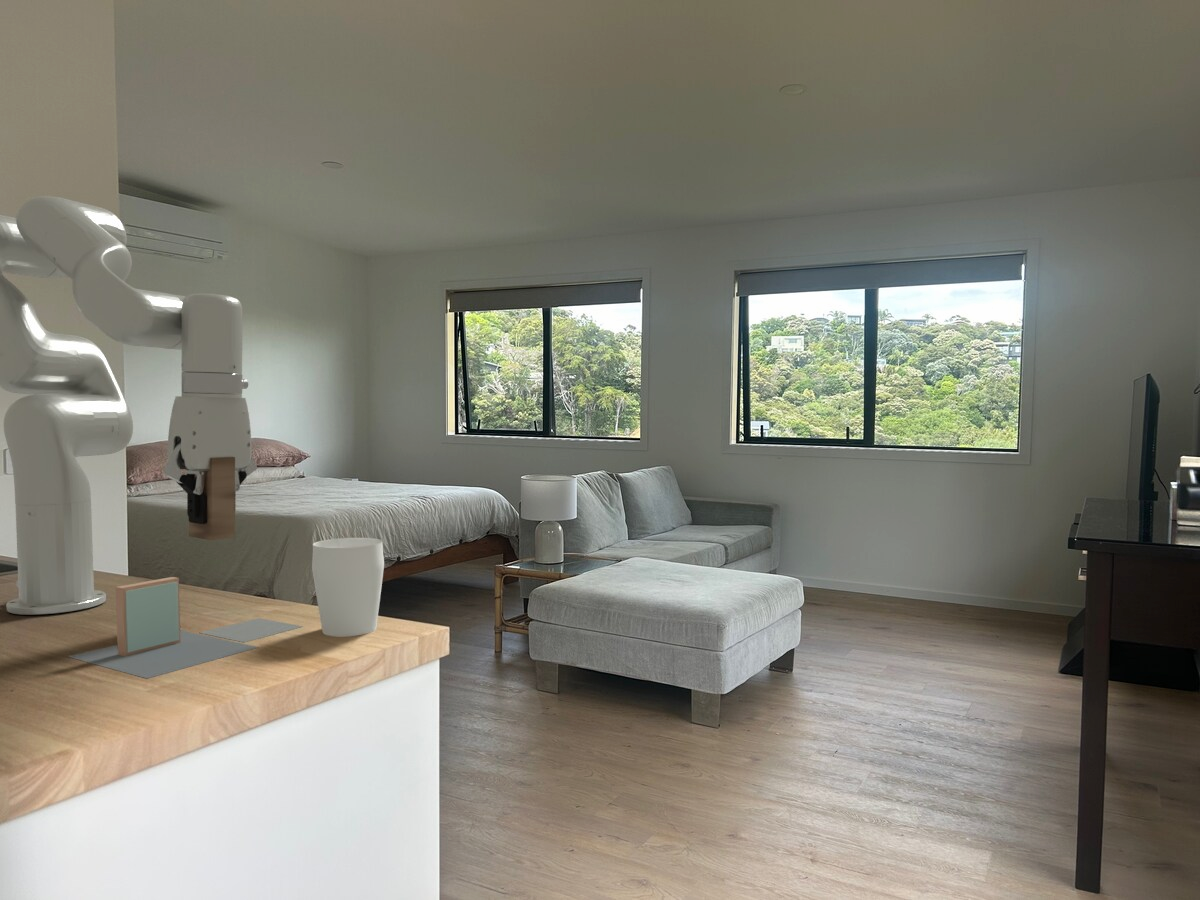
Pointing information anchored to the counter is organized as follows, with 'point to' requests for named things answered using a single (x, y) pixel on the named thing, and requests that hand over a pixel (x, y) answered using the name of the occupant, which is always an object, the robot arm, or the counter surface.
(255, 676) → the counter surface
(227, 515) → the bar
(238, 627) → the coaster
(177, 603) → the tile
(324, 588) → the cup
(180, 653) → the mat
